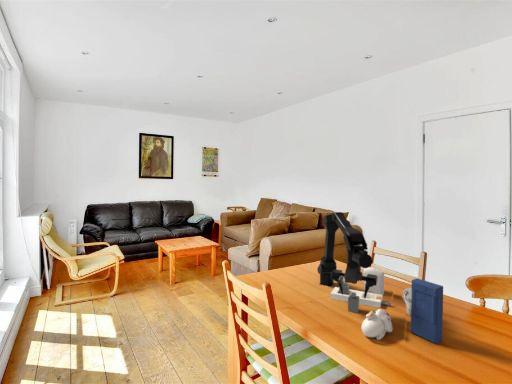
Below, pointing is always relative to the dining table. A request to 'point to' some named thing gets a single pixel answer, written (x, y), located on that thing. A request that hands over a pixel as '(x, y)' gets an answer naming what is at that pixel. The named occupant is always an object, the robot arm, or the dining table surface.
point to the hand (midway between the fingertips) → (353, 296)
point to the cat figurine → (377, 324)
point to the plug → (353, 303)
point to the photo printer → (380, 284)
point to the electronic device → (427, 310)
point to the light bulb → (407, 299)
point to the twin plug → (345, 288)
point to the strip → (360, 298)
